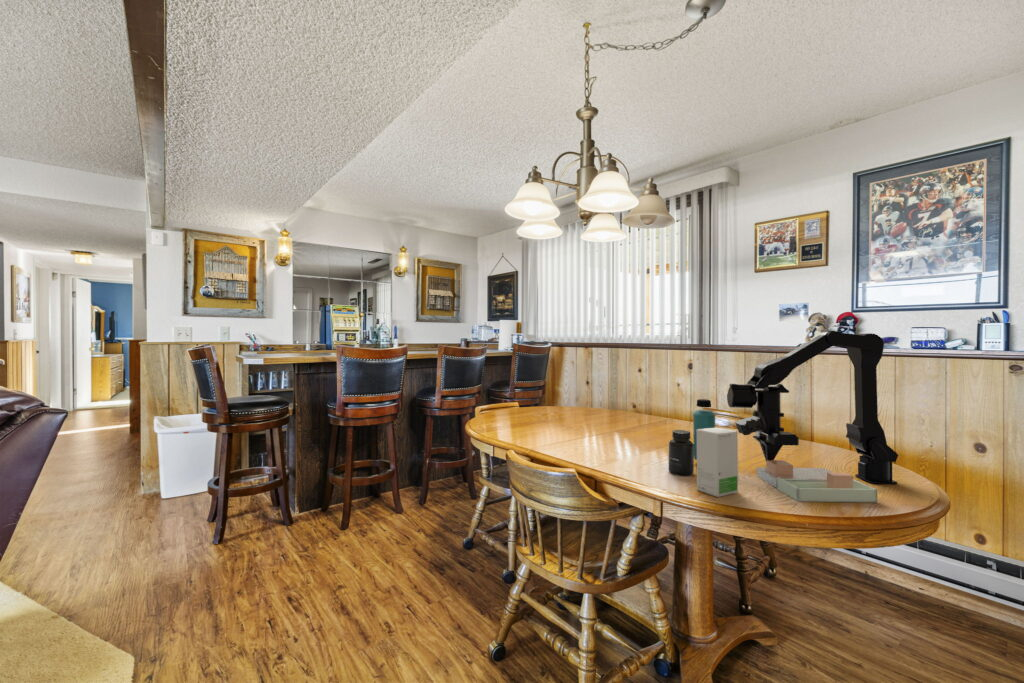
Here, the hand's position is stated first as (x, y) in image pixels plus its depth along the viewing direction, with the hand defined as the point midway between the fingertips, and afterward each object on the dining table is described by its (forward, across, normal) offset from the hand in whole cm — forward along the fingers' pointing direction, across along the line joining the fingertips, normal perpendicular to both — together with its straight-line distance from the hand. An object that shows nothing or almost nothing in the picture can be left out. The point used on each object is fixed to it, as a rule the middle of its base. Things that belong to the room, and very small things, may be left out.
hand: (769, 463), depth 122 cm
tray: (+3, +16, +5) cm, 17 cm away
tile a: (+1, +14, +9) cm, 16 cm away
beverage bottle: (+4, -10, -14) cm, 18 cm away
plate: (+3, +6, +5) cm, 9 cm away
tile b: (+1, +5, 0) cm, 5 cm away
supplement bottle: (+4, -1, -24) cm, 24 cm away
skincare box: (+4, +14, -20) cm, 25 cm away
